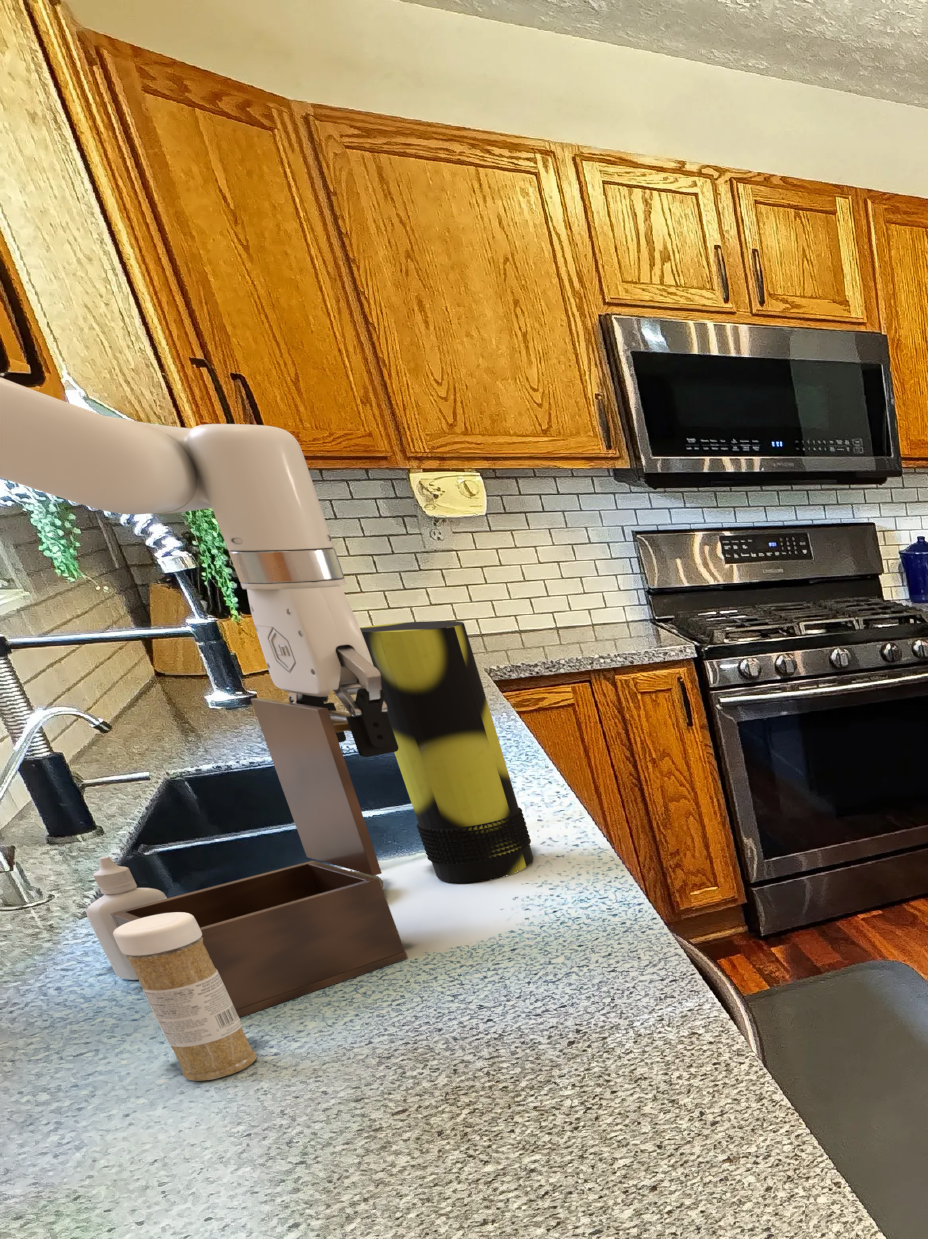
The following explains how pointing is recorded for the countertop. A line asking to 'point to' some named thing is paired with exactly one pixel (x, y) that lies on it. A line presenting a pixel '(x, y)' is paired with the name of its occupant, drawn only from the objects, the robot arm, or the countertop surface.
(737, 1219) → the countertop surface
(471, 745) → the container
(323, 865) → the walnut box
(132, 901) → the eye dropper bottle
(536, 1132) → the countertop surface
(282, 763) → the walnut panel
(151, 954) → the spice jar
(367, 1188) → the countertop surface
